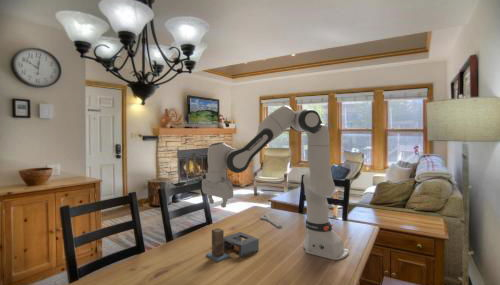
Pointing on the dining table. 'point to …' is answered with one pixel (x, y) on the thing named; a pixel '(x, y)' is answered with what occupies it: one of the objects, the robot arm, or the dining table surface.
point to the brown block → (217, 242)
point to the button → (236, 248)
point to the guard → (242, 243)
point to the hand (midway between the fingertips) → (217, 205)
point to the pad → (217, 257)
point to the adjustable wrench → (270, 221)
